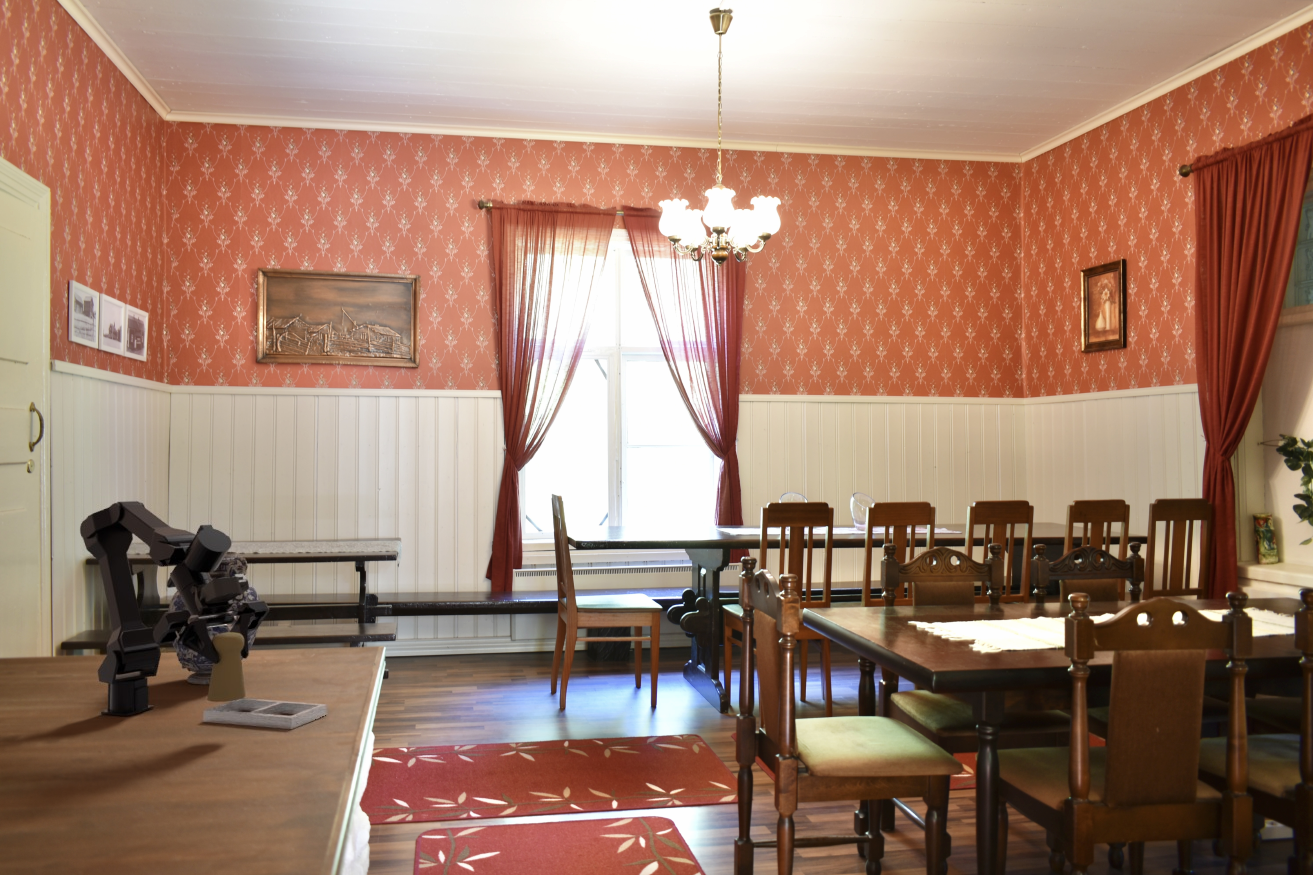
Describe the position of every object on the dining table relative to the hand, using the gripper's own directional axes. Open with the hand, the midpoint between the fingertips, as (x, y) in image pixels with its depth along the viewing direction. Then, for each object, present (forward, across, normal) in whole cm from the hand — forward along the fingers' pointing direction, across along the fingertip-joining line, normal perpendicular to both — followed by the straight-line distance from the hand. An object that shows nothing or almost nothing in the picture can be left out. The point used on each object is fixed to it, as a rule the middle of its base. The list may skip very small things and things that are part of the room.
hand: (232, 659), depth 159 cm
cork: (+4, 0, +6) cm, 7 cm away
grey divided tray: (+5, +11, +14) cm, 19 cm away
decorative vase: (-23, +25, +43) cm, 55 cm away
